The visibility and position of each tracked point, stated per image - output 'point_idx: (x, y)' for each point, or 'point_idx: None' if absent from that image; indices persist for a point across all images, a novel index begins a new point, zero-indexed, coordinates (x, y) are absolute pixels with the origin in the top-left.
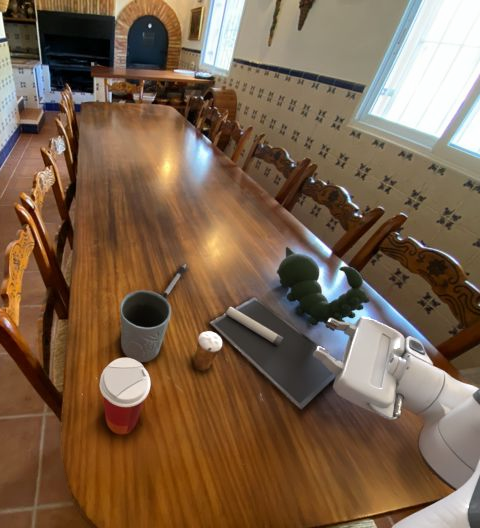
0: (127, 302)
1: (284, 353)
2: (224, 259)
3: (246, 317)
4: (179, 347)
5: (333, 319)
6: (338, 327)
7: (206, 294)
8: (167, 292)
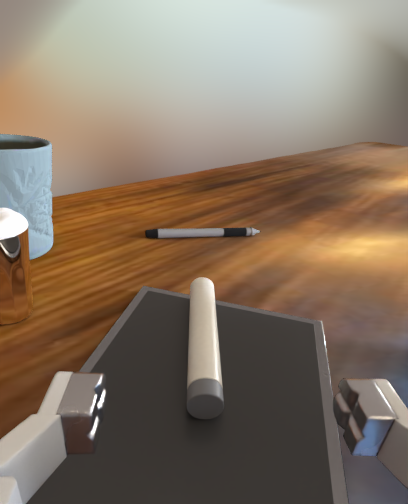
0: (16, 148)
1: (179, 447)
2: (357, 262)
3: (203, 305)
4: (41, 279)
5: (387, 388)
6: (396, 455)
7: (225, 269)
8: (160, 230)
